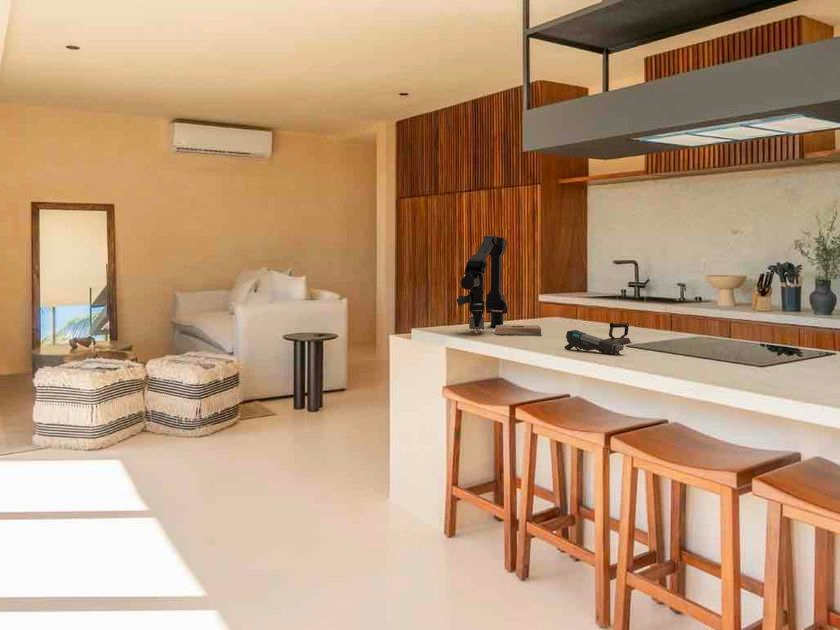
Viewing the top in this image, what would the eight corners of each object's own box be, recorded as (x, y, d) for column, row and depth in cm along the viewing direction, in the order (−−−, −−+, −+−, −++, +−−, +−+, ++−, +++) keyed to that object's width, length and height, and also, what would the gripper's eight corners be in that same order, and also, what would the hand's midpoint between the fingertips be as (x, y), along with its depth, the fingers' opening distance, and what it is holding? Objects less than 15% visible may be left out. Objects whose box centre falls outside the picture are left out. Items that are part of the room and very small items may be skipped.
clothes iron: (601, 344, 272) (604, 318, 273) (621, 349, 278) (624, 323, 279) (616, 345, 266) (619, 318, 267) (636, 350, 272) (639, 323, 273)
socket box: (495, 332, 306) (495, 323, 306) (538, 332, 305) (538, 323, 304) (496, 335, 295) (496, 326, 295) (541, 335, 294) (541, 327, 294)
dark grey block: (469, 332, 306) (469, 315, 306) (483, 332, 306) (483, 315, 305) (469, 333, 301) (469, 317, 300) (483, 333, 300) (483, 317, 300)
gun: (567, 347, 260) (576, 322, 256) (615, 372, 248) (625, 345, 245) (560, 349, 256) (569, 323, 253) (609, 374, 245) (619, 347, 241)
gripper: (457, 287, 311) (457, 323, 313) (456, 289, 293) (456, 328, 295) (484, 287, 311) (483, 323, 312) (484, 289, 292) (484, 328, 294)
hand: (476, 325), depth 303 cm, fingers closed on dark grey block, 6 cm apart
